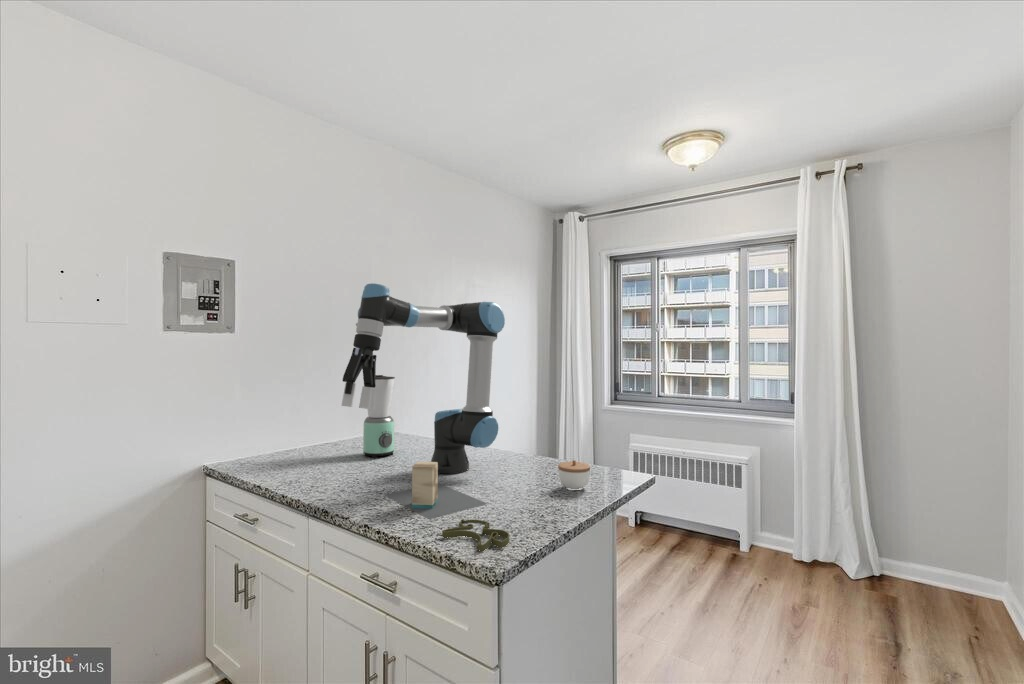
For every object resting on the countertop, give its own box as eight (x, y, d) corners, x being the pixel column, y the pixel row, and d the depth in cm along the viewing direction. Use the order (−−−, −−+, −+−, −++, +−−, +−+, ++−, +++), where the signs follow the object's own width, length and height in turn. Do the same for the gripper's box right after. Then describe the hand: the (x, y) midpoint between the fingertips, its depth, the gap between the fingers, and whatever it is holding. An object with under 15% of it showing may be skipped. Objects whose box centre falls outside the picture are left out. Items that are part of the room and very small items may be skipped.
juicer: (402, 455, 210) (402, 375, 211) (374, 460, 201) (374, 376, 201) (380, 449, 224) (380, 373, 224) (353, 453, 215) (353, 374, 215)
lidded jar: (593, 486, 166) (593, 458, 166) (585, 494, 156) (585, 465, 156) (564, 482, 170) (564, 455, 170) (553, 490, 160) (553, 462, 160)
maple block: (418, 501, 146) (418, 461, 146) (437, 502, 145) (437, 462, 145) (412, 507, 140) (412, 466, 140) (432, 508, 139) (432, 467, 139)
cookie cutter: (435, 536, 122) (436, 528, 122) (469, 523, 131) (469, 516, 131) (488, 556, 111) (488, 548, 111) (520, 540, 120) (521, 532, 120)
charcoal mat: (439, 486, 165) (439, 483, 165) (488, 507, 144) (488, 503, 144) (384, 497, 152) (384, 494, 152) (429, 522, 131) (429, 519, 131)
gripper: (369, 341, 155) (358, 407, 152) (339, 325, 131) (324, 403, 127) (392, 344, 155) (381, 410, 151) (366, 328, 130) (352, 407, 127)
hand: (355, 407), depth 139 cm, fingers open, 13 cm apart
